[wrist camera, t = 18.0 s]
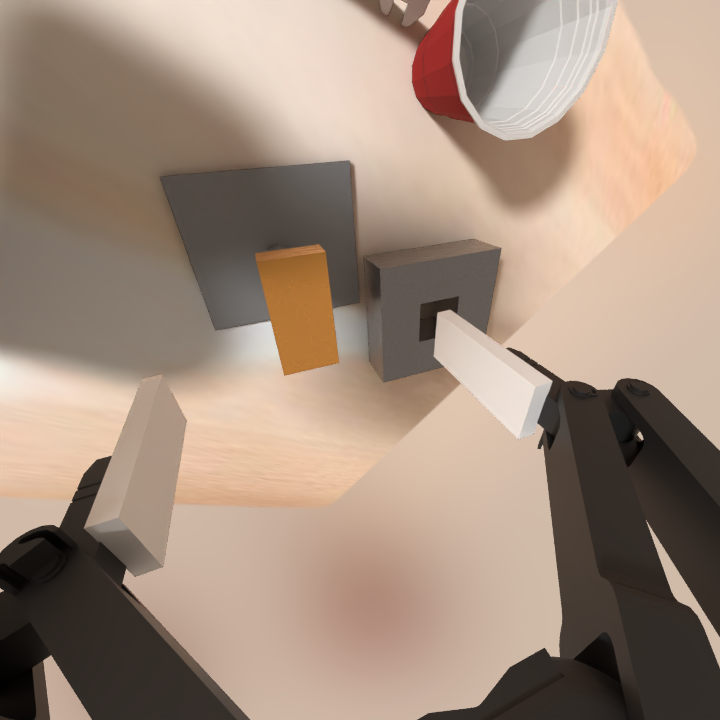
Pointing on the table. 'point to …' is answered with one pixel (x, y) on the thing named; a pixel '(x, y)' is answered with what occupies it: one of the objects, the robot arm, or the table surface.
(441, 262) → the block
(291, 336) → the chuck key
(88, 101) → the table surface
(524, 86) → the plastic cup
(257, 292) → the key mat
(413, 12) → the caliper
